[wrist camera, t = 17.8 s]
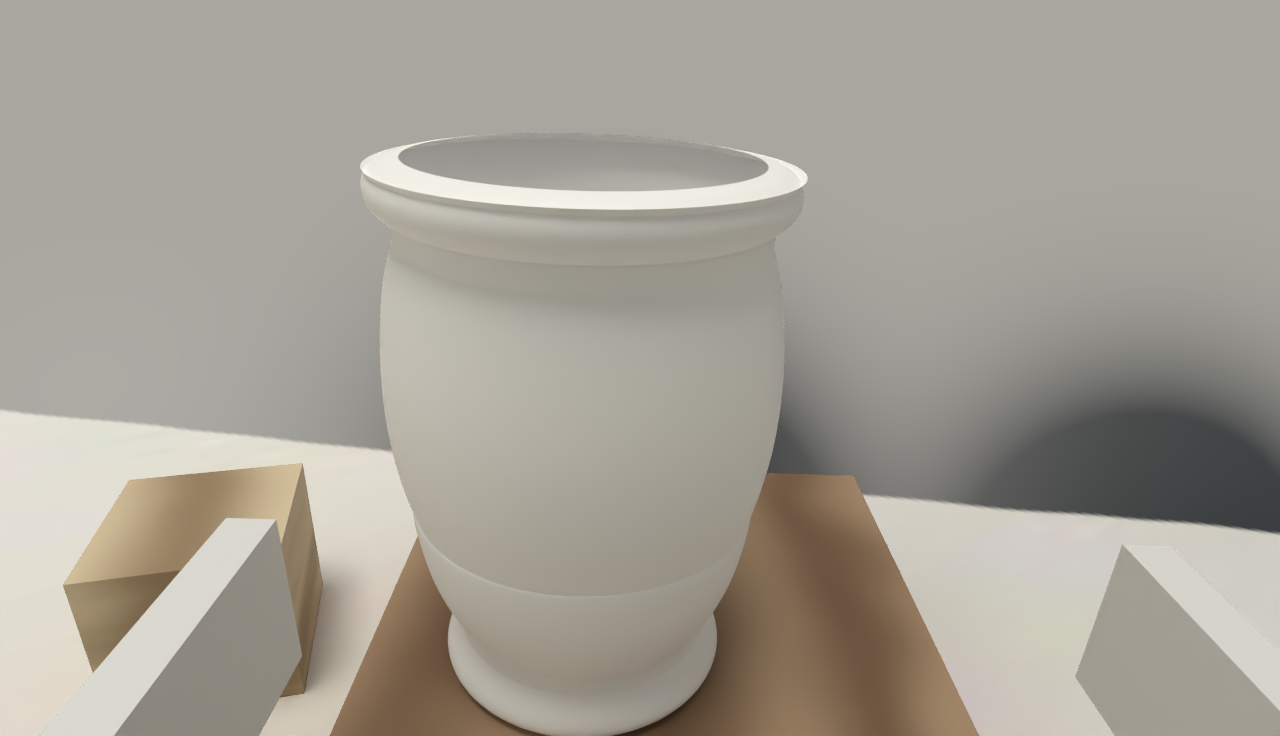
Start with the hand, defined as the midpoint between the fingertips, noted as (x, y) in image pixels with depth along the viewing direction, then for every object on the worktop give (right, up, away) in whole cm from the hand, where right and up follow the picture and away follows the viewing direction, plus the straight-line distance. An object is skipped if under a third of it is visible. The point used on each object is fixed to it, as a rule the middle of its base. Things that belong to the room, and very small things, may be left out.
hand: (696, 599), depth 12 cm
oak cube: (-17, -7, +17) cm, 24 cm away
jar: (-3, -5, +12) cm, 14 cm away
